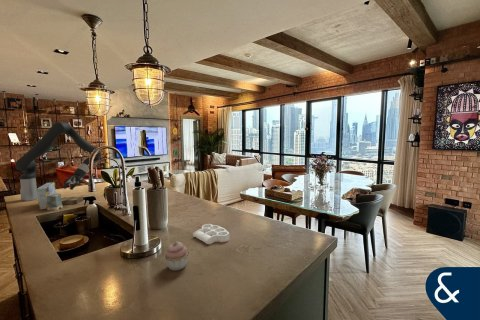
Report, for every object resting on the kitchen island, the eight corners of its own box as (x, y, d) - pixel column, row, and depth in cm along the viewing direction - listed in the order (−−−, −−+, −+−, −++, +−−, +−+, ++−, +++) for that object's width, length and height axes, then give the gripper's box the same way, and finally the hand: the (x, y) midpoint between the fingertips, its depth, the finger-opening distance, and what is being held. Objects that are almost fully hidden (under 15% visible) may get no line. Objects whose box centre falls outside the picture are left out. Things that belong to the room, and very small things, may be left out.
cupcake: (159, 266, 88) (158, 241, 87) (181, 257, 95) (180, 233, 94) (172, 277, 82) (170, 249, 81) (194, 266, 88) (193, 240, 87)
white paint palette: (189, 236, 116) (213, 227, 125) (211, 248, 102) (236, 238, 112) (189, 229, 115) (213, 221, 125) (210, 241, 102) (235, 231, 112)
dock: (56, 205, 172) (55, 200, 171) (64, 201, 182) (63, 197, 181) (77, 203, 174) (76, 199, 173) (83, 200, 184) (83, 196, 183)
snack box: (48, 202, 180) (46, 182, 178) (57, 201, 182) (55, 182, 181) (38, 210, 161) (35, 188, 159) (48, 208, 163) (46, 187, 162)
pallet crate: (47, 210, 159) (46, 196, 158) (53, 207, 165) (51, 193, 164) (57, 209, 160) (55, 195, 159) (62, 207, 166) (61, 193, 165)
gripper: (72, 167, 178) (57, 185, 169) (83, 168, 172) (68, 186, 163) (80, 173, 184) (65, 190, 175) (91, 174, 178) (77, 192, 169)
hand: (67, 188), depth 169 cm, fingers open, 8 cm apart
